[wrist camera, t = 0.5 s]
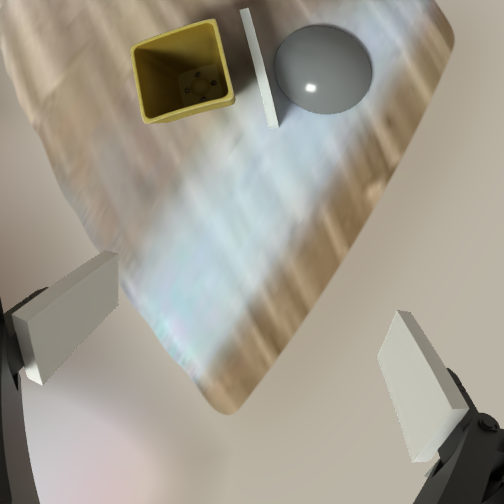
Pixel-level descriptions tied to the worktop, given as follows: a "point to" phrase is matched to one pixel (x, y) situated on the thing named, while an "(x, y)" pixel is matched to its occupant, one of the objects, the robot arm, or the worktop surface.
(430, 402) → the robot arm
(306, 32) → the coaster
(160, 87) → the flower pot
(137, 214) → the worktop surface
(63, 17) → the worktop surface
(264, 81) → the wall
